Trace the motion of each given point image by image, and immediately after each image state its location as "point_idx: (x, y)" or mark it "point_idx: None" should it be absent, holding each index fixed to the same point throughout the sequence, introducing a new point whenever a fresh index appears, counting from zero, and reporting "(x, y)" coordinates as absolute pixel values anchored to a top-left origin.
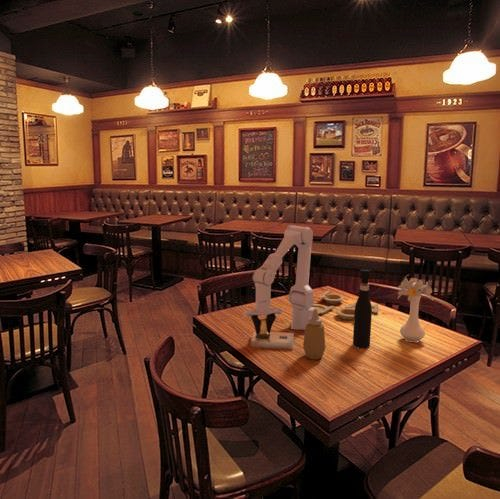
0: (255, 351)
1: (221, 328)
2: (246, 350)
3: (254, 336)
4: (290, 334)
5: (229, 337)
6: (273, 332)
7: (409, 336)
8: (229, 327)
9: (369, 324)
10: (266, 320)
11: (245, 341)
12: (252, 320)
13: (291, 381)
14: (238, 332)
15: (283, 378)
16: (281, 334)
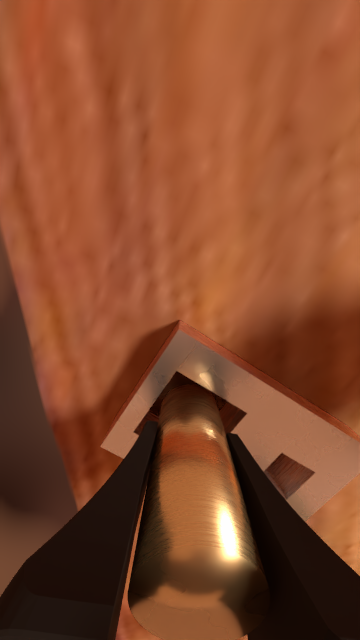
0: (116, 464)
1: (15, 75)
2: (82, 443)
3: (140, 409)
4: (346, 462)
5: (39, 270)
6: (277, 402)
7: None
8: (79, 80)
9: None
10: (219, 629)
11: (109, 357)
12: (79, 518)
13: (141, 636)
14: (113, 214)
15: (128, 621)
16: (301, 443)
